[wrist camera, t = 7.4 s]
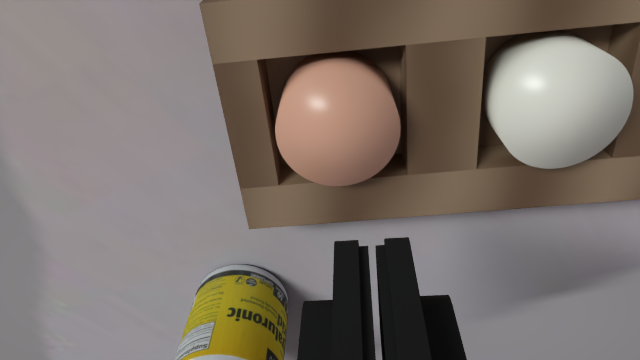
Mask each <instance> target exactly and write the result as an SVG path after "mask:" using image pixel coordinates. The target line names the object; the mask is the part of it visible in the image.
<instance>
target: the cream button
mask: <svg viewBox="0 0 640 360" xmlns="http://www.w3.org/2000/svg"><path fill="white" fill-rule="evenodd" d="M632 104H633V84H632V80H631V77H630V75H629V73H628V71H627V69H626V68H625V67H624V65H623V64H622V63H621V62H620V61H619V60H617V59H616V58H615V57H613V56H611V55H610V54H608V53H606V52H605V51H603V50H601V49H599V48H598V47H596V46H594V45H592V44H591V43H589V42H587V41H585V40H584V39H582V38H580V37H578V36H577V35H575V34H573V33H571V32H569V31H566V30H553V31H543V32H533V33H523V34H520V35H518V36H516V37H514V38H512V39H511V40H509V41H508V42H506V43H505V44H504V45H503V46H501V47H500V48H499V49H498V50H497V51H496V52H495V53H494V55H493V56H492V57H491V58H490V60H489V61H488V63H487V65H486V66H485V68H484V71H483V85H482V98H481V111H482V113H483V115H484V117H485V118H486V119H487V121H488V122H489V124H490V125H491V127H492V128H493V129H494V131H495V132H496V134H497V135H498V137H499V138H500V139H501V141H502V142H503V144H504V145H505V146H506V148H507V149H508V151H509V152H510V153H511V154H512V155H513V156H514V157H515V158H516V159H518V160H519V161H521V162H523V163H525V164H527V165H530V166H533V167H537V168H544V169H556V168H564V167H568V166H572V165H575V164H578V163H581V162H583V161H585V160H587V159H589V158H591V157H592V156H594V155H596V154H597V153H599V152H600V151H602V150H603V149H604V148H605V147H606V146H608V145H609V144H610V143H611V142H612V141H613V140H614V139H615V138H616V136H617V135H618V134H619V132H620V131H621V130H622V128H623V126H624V125H625V123H626V121H627V119H628V117H629V115H630V111H631V108H632Z"/></svg>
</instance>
